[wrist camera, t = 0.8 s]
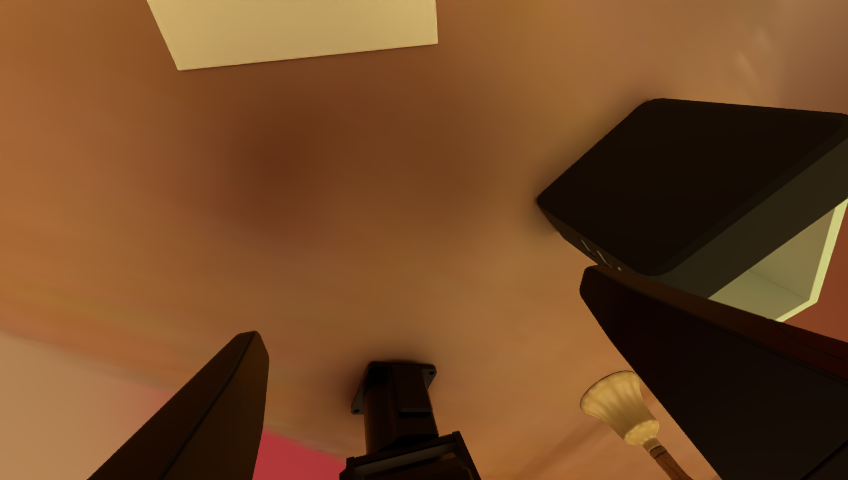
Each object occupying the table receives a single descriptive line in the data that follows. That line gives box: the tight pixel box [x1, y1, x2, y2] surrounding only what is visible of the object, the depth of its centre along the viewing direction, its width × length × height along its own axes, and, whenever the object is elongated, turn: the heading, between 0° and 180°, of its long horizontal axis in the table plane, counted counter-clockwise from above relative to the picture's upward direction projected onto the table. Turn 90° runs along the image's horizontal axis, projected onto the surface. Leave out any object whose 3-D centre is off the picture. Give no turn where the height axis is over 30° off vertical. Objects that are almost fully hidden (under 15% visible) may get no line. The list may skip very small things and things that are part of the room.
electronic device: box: [537, 98, 848, 299], centre depth 18 cm, size 4×10×10 cm, turn 132°
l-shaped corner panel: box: [708, 199, 848, 322], centre depth 25 cm, size 12×12×8 cm
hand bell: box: [580, 371, 693, 480], centre depth 32 cm, size 8×8×16 cm
